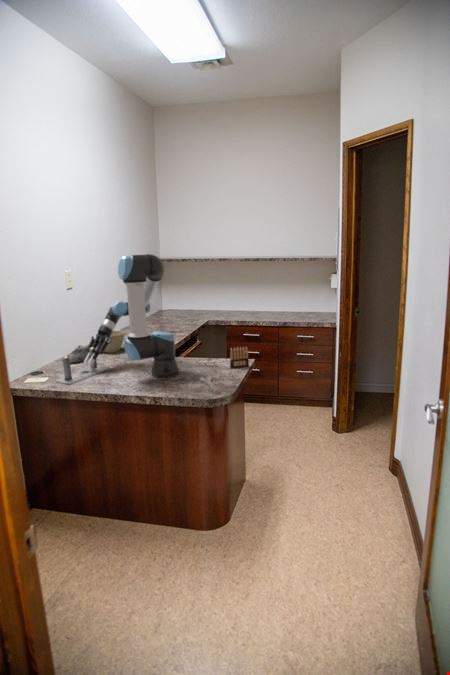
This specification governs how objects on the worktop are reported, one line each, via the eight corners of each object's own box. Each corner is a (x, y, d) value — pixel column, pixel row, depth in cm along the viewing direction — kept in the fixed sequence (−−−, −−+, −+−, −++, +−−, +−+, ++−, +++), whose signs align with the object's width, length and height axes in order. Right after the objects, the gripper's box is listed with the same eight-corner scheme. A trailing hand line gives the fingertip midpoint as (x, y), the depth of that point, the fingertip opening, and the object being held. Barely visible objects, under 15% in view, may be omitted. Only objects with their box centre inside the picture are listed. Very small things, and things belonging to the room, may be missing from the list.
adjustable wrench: (220, 394, 213) (220, 391, 212) (207, 396, 211) (207, 392, 211) (211, 378, 236) (210, 375, 236) (198, 379, 235) (198, 376, 235)
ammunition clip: (248, 365, 256) (247, 345, 253) (249, 366, 254) (248, 346, 251) (229, 367, 253) (229, 347, 251) (230, 368, 252) (230, 348, 249)
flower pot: (127, 352, 292) (125, 334, 290) (98, 356, 286) (97, 337, 284) (123, 346, 309) (122, 329, 306) (96, 349, 303) (94, 332, 300)
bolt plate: (110, 368, 258) (108, 346, 255) (69, 384, 233) (66, 359, 230) (97, 366, 263) (95, 344, 260) (56, 381, 237) (53, 357, 234)
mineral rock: (68, 364, 269) (66, 348, 267) (68, 360, 279) (66, 344, 277) (90, 362, 273) (88, 346, 271) (89, 357, 283) (88, 342, 281)
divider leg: (97, 368, 254) (95, 347, 252) (94, 369, 252) (92, 348, 249) (94, 367, 256) (92, 347, 253) (90, 368, 253) (88, 348, 250)
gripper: (120, 333, 259) (102, 368, 248) (100, 331, 267) (82, 365, 256) (113, 326, 253) (94, 361, 243) (92, 324, 261) (73, 358, 251)
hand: (88, 363), depth 250 cm, fingers open, 3 cm apart
